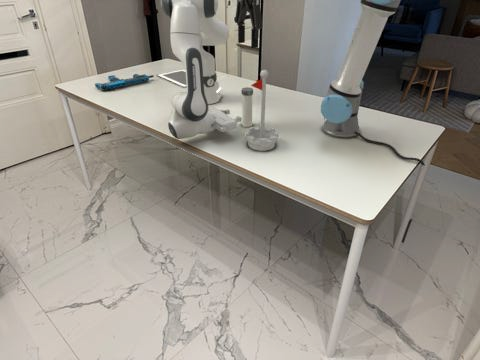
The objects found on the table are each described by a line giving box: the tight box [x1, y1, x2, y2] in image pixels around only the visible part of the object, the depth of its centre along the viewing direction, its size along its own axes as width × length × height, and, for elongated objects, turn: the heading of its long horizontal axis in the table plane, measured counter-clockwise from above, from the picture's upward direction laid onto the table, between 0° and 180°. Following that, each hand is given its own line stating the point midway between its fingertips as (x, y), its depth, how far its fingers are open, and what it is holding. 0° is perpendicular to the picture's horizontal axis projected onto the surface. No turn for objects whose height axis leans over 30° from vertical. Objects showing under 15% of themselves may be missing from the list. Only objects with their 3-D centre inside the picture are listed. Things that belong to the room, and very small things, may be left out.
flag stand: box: [245, 69, 279, 152], centre depth 130 cm, size 13×13×30 cm
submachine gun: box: [94, 73, 155, 91], centre depth 208 cm, size 34×4×25 cm
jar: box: [241, 94, 253, 128], centre depth 151 cm, size 4×4×16 cm
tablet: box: [156, 69, 187, 88], centre depth 216 cm, size 32×20×1 cm, turn 41°
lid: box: [241, 86, 254, 96], centre depth 147 cm, size 5×5×2 cm
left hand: (234, 114), depth 149 cm, fingers open, 8 cm apart
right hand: (247, 45), depth 136 cm, fingers open, 10 cm apart
